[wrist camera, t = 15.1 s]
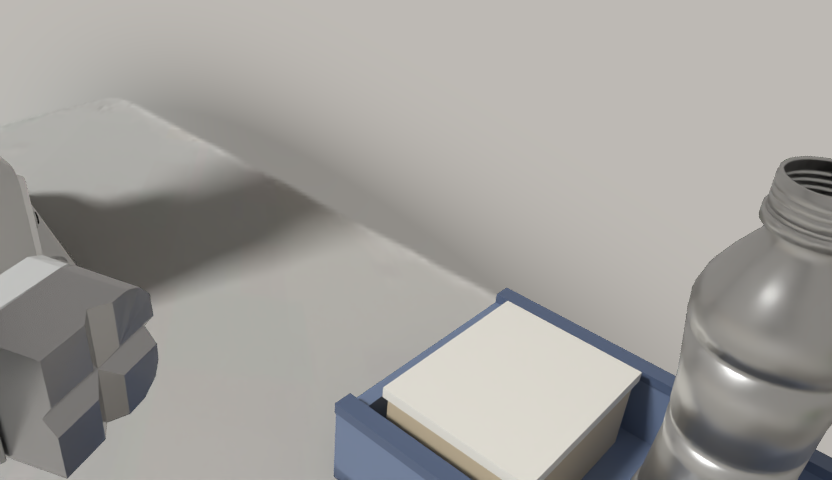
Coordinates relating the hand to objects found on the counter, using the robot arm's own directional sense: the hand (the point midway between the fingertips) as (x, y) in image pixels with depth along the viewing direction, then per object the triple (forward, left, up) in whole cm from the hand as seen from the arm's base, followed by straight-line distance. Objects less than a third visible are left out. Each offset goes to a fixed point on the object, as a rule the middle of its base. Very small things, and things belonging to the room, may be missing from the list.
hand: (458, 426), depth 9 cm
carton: (-17, +16, -24) cm, 33 cm away
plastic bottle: (-7, +19, -24) cm, 31 cm away
